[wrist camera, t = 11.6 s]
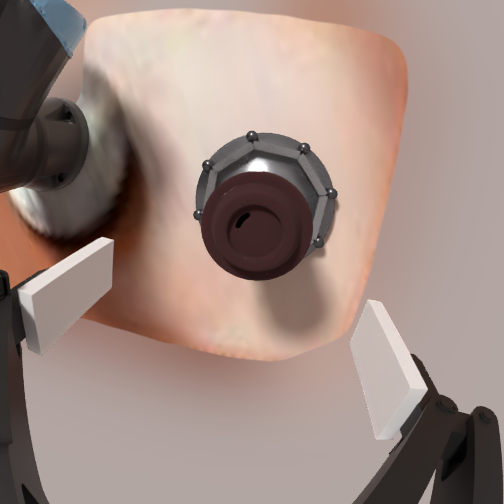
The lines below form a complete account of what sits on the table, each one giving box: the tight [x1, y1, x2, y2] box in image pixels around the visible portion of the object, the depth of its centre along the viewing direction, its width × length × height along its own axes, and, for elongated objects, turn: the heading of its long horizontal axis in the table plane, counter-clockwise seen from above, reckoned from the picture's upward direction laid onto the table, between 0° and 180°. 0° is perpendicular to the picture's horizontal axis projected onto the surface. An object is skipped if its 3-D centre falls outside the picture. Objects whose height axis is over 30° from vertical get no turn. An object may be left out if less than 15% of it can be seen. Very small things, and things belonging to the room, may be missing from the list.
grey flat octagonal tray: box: [193, 131, 337, 258], centre depth 40 cm, size 18×18×2 cm
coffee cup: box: [201, 171, 313, 281], centre depth 33 cm, size 10×10×15 cm
